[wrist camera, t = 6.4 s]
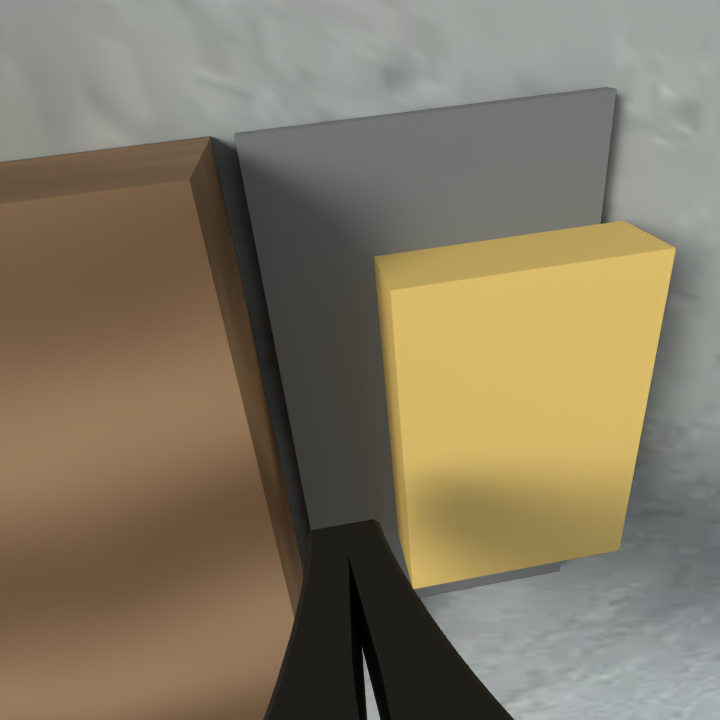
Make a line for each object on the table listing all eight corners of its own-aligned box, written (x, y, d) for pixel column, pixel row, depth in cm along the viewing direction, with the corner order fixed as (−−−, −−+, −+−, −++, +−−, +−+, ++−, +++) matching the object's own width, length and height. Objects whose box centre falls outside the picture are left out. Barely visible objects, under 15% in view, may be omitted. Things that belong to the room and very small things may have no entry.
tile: (413, 589, 16) (398, 535, 18) (619, 550, 16) (585, 500, 18) (390, 290, 11) (373, 256, 13) (675, 247, 12) (623, 220, 14)
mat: (554, 561, 20) (559, 570, 20) (325, 604, 19) (326, 615, 19) (606, 87, 12) (616, 89, 12) (235, 133, 12) (234, 136, 12)
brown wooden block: (311, 607, 19) (321, 732, 16) (34, 659, 19) (-17, 801, 15) (210, 136, 12) (189, 179, 8) (-260, 194, 11) (-493, 268, 8)
